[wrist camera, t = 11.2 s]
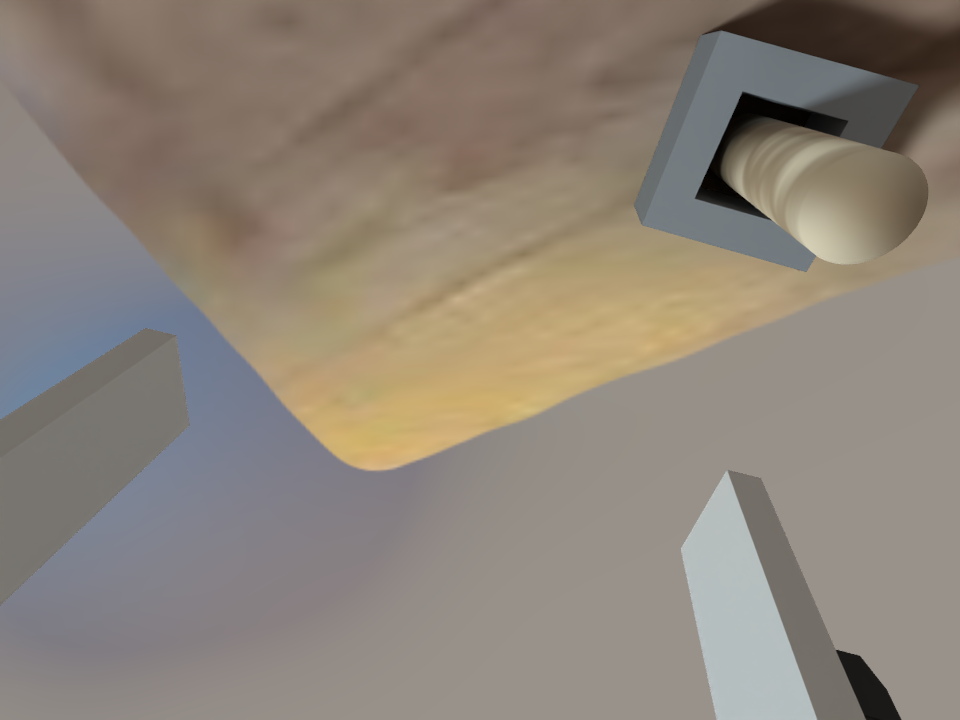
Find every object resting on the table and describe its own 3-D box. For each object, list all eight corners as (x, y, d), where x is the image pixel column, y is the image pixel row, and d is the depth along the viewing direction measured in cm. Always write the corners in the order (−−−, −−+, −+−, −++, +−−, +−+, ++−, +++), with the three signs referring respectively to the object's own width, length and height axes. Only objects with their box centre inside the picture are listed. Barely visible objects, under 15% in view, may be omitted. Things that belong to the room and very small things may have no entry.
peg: (725, 105, 31) (840, 137, 18) (790, 123, 31) (955, 169, 18) (696, 172, 33) (778, 247, 20) (756, 189, 33) (881, 277, 20)
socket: (700, 35, 30) (721, 30, 26) (869, 82, 30) (919, 85, 25) (634, 205, 35) (642, 225, 31) (778, 246, 35) (806, 272, 31)
